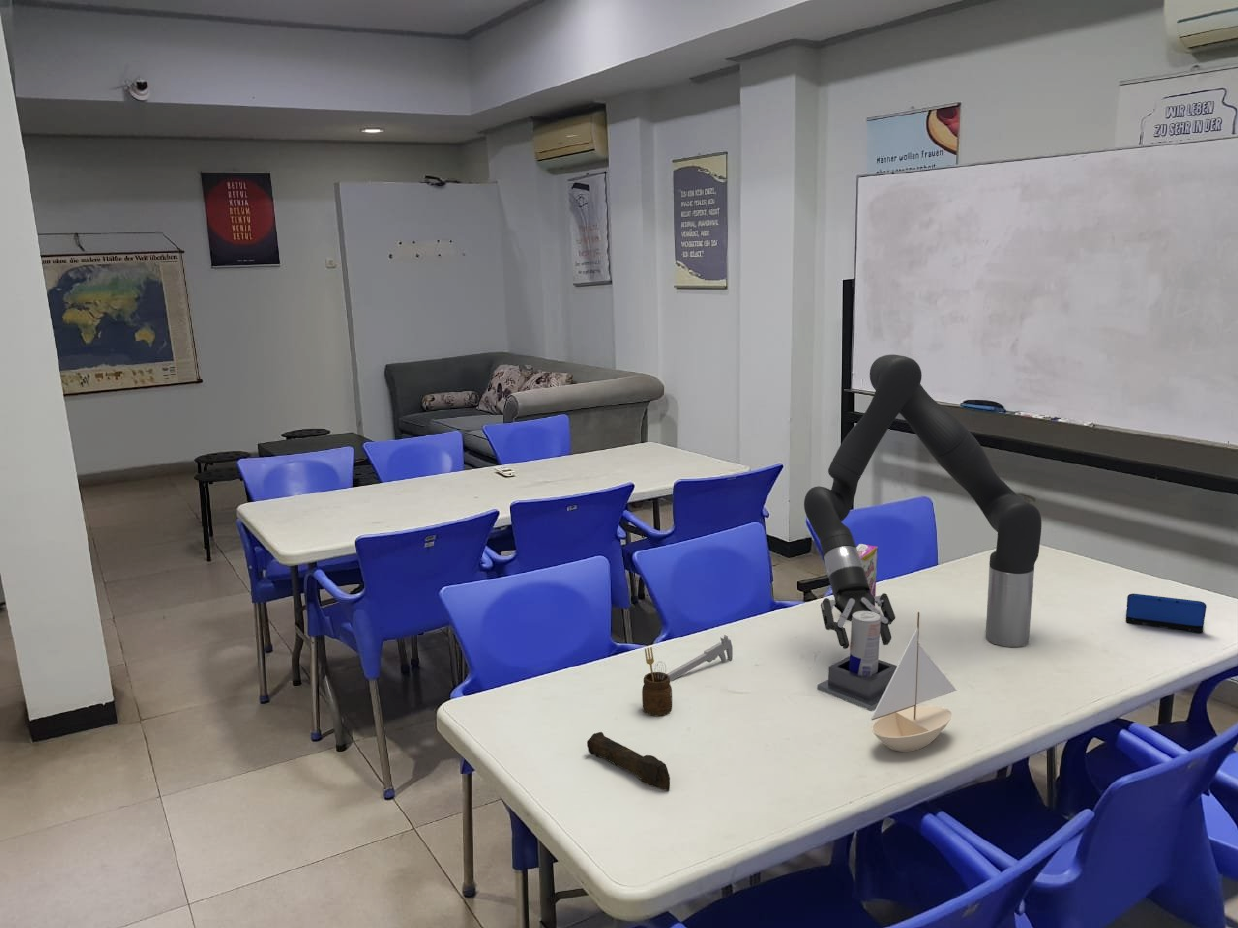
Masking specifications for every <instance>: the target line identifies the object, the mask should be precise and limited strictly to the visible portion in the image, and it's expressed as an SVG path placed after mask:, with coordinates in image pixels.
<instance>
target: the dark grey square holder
mask: <svg viewBox="0 0 1238 928" xmlns="http://www.w3.org/2000/svg"><path fill="white" fill-rule="evenodd" d="M849 664H850V655H849V656H847V657H845V658H843V659H842V660H839V661H837V662H834V663H832V664H831V665H829V666H828V669H827V677H828V678H827V679H826V680H824V681H821V683H818V684H817V690H818V691H822V693H823V692H824V693H826V694H828V695H831V696H834V697H836V698H837V699H838V698H839V699H841V700H844V701H846V702H849V703H851V704H853V705H857V706H859V707H861V708H864V709H866V710H869V711H871V712H872V711H873V710H874V711H875V709H876V707H877V705H878V703H879V701H880V699H881V697H882V695H883V694H884V692H885V690H886V688H887V686H888V684H889V682H890V680H891V678H892V676H893V674H894V672H895V670H896V668H897V666H898V665H896V664H892V663H889V662H888V661H887V662H886V661H885V660H880V659H878V674H876V675H874V676H872V677H870V678H866V677H864V676H861V675H858V674H856V673H853V672H850V671H849Z"/></svg>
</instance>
